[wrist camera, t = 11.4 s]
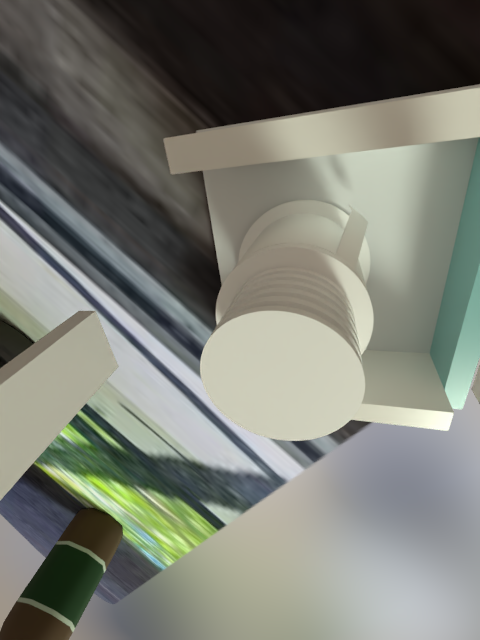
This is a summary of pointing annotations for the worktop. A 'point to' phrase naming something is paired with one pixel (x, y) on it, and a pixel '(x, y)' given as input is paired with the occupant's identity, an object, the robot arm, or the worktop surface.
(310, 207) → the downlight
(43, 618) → the beer bottle
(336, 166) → the holder
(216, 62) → the worktop surface
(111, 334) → the worktop surface
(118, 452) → the worktop surface
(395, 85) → the worktop surface
